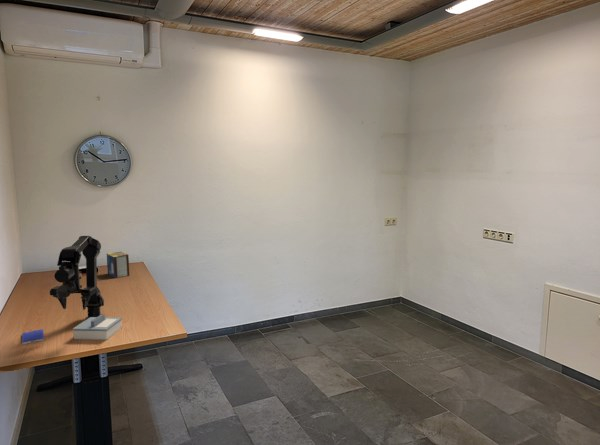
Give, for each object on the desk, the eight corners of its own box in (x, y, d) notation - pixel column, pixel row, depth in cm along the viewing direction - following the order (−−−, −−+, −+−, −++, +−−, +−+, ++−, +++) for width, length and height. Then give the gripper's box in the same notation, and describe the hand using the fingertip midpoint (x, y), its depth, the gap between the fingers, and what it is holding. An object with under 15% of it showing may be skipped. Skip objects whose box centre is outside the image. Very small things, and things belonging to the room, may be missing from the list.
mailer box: (91, 327, 196) (90, 319, 196) (121, 327, 196) (121, 319, 195) (74, 339, 182) (73, 330, 182) (106, 339, 182) (106, 331, 181)
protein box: (122, 271, 304) (121, 251, 302) (129, 275, 292) (128, 254, 291) (107, 274, 297) (106, 253, 295) (114, 278, 285) (113, 256, 283)
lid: (90, 318, 196) (90, 312, 195) (121, 319, 195) (121, 312, 195) (72, 330, 181) (72, 323, 181) (106, 330, 181) (106, 323, 181)
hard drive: (22, 332, 187) (21, 342, 176) (43, 328, 191) (43, 338, 181) (22, 335, 187) (21, 345, 177) (43, 332, 191) (44, 341, 181)
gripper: (39, 280, 175) (42, 315, 177) (81, 281, 174) (83, 316, 176) (56, 273, 186) (59, 306, 188) (95, 274, 185) (98, 307, 187)
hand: (74, 309), depth 185 cm, fingers open, 9 cm apart
